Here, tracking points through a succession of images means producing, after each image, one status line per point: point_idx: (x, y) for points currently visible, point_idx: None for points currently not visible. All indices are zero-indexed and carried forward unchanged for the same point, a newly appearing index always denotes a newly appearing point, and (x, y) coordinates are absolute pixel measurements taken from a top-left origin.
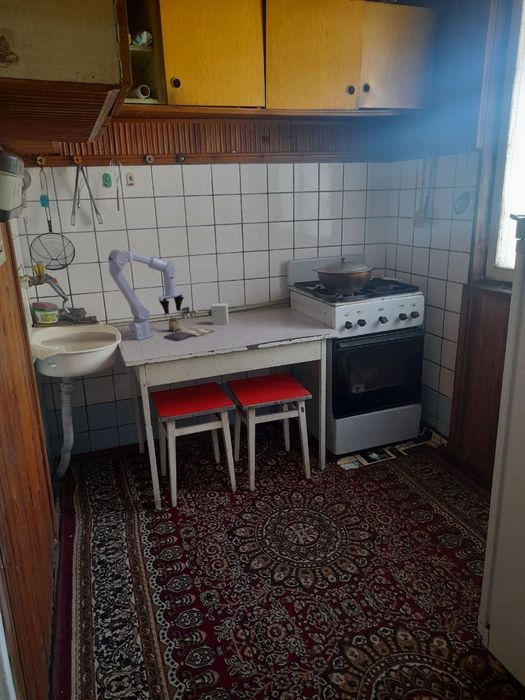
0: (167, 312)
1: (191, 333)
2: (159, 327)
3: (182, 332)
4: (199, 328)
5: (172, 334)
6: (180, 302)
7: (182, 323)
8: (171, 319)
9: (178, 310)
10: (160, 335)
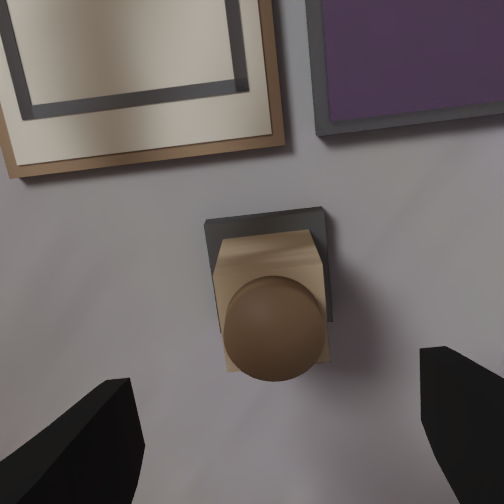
0: (467, 359)
1: None
2: (291, 488)
3: (278, 83)
4: (19, 54)
5: (455, 59)
6: (1, 494)
7: None
8: (321, 317)
9: (132, 401)
10: (489, 229)
